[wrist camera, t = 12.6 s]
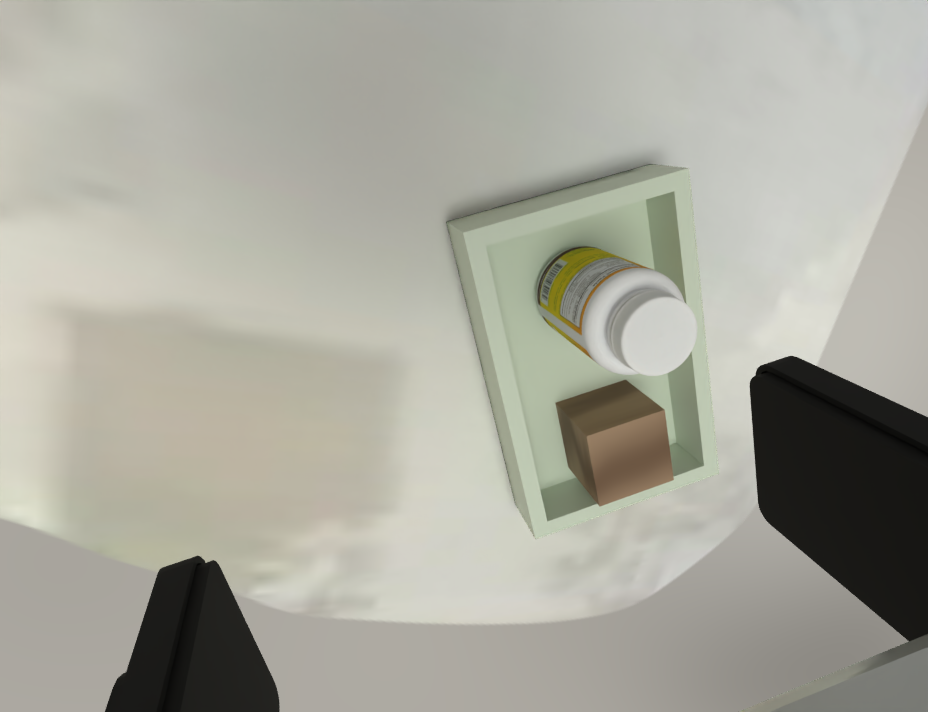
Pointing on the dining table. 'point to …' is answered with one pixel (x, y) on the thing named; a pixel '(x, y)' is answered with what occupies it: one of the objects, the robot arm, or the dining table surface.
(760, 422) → the robot arm
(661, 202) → the tote
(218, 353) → the dining table surface
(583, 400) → the walnut block
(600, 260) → the supplement bottle
